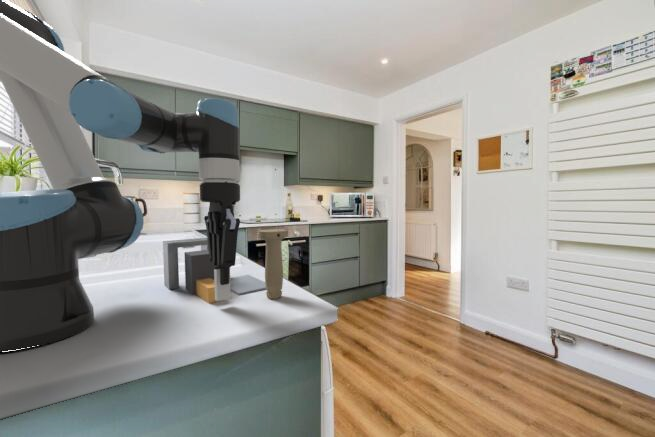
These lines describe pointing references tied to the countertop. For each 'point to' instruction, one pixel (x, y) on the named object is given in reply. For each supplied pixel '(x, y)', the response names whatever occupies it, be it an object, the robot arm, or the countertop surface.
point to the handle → (273, 261)
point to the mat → (246, 284)
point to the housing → (172, 258)
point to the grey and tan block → (200, 275)
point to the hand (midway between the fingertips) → (222, 298)
